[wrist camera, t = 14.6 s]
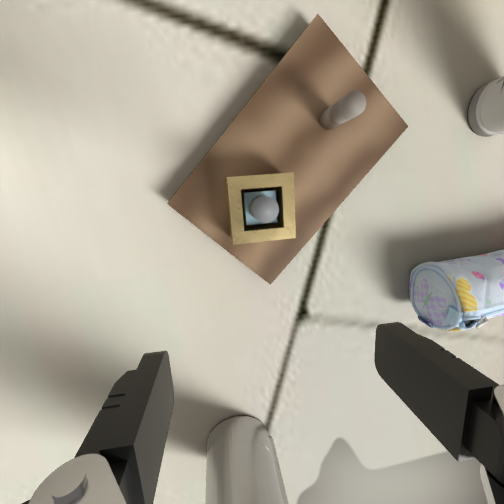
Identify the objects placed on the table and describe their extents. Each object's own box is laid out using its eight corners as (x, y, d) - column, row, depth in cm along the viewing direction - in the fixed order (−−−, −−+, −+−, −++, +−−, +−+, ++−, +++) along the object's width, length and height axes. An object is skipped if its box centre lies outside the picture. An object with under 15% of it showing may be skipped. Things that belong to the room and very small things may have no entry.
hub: (269, 190, 28) (282, 190, 23) (271, 219, 29) (283, 225, 24) (240, 192, 28) (247, 193, 23) (243, 221, 29) (250, 228, 23)
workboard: (396, 130, 31) (451, 112, 24) (267, 278, 33) (282, 304, 26) (310, 26, 27) (346, -34, 20) (170, 202, 29) (156, 207, 22)
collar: (282, 174, 28) (293, 172, 24) (285, 231, 30) (295, 238, 26) (224, 178, 27) (226, 177, 24) (230, 237, 29) (233, 244, 25)
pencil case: (400, 312, 37) (460, 352, 28) (400, 256, 35) (466, 279, 26) (523, 287, 40) (615, 316, 31) (531, 232, 37) (633, 246, 28)
